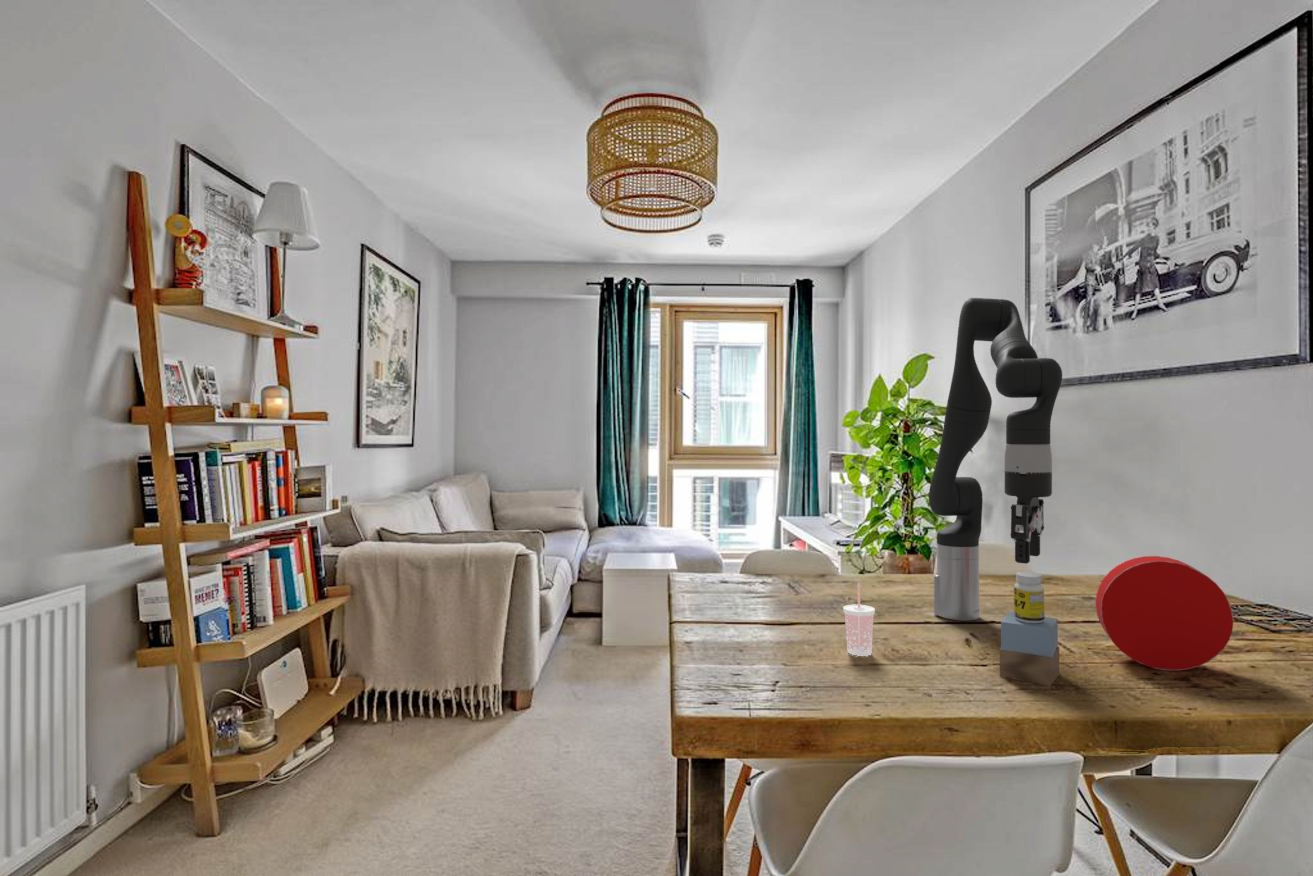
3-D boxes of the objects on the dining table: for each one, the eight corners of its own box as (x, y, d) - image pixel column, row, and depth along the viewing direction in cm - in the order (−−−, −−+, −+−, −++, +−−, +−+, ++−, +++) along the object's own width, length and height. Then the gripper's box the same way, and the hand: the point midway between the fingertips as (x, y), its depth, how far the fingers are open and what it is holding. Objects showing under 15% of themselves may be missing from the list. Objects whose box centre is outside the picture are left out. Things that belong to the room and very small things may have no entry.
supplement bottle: (1009, 616, 127) (1008, 571, 126) (1034, 615, 127) (1033, 570, 126) (1024, 624, 122) (1023, 577, 121) (1050, 623, 122) (1049, 576, 122)
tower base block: (999, 676, 124) (999, 649, 124) (1011, 665, 130) (1010, 638, 130) (1050, 687, 119) (1049, 658, 119) (1059, 674, 125) (1059, 647, 125)
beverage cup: (875, 649, 139) (875, 580, 139) (875, 659, 134) (874, 587, 133) (844, 647, 141) (843, 579, 141) (842, 656, 136) (841, 585, 135)
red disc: (1222, 667, 128) (1221, 559, 127) (1233, 677, 122) (1233, 565, 122) (1095, 654, 136) (1095, 552, 136) (1101, 663, 130) (1100, 557, 130)
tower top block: (1001, 649, 124) (1000, 621, 124) (1009, 638, 130) (1008, 612, 130) (1052, 657, 119) (1051, 628, 119) (1057, 645, 125) (1057, 618, 125)
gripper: (1014, 467, 132) (1014, 551, 132) (995, 470, 121) (995, 562, 121) (1059, 468, 127) (1059, 555, 127) (1043, 472, 116) (1043, 568, 116)
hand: (1027, 559), depth 124 cm, fingers open, 8 cm apart
